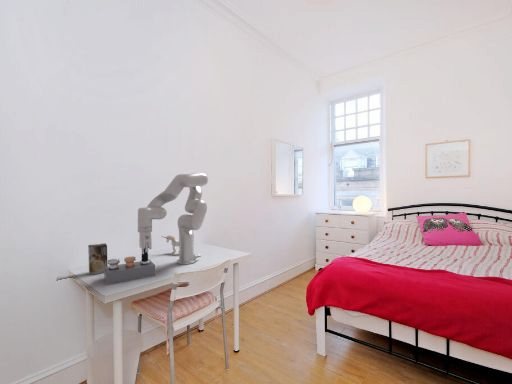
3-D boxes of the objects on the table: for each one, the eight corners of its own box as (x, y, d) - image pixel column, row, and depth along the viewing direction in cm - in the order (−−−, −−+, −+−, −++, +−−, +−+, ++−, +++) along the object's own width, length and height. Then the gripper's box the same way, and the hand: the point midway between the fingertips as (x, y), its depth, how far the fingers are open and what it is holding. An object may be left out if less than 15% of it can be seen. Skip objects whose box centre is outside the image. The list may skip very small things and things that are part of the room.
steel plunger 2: (149, 268, 154) (149, 258, 154) (151, 271, 149) (151, 261, 149) (139, 270, 151) (139, 260, 150) (141, 273, 146) (141, 262, 146)
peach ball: (134, 266, 149) (134, 256, 149) (136, 269, 145) (136, 258, 144) (123, 268, 146) (123, 257, 146) (125, 270, 141) (125, 259, 141)
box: (150, 269, 157) (150, 259, 157) (155, 275, 147) (155, 265, 147) (104, 277, 143) (104, 266, 143) (106, 284, 134) (106, 273, 133)
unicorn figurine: (165, 251, 199) (165, 234, 199) (190, 252, 198) (190, 234, 198) (161, 254, 192) (161, 236, 192) (187, 254, 191) (187, 236, 191)
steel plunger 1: (118, 268, 145) (118, 258, 144) (120, 271, 140) (120, 260, 140) (107, 270, 141) (107, 259, 141) (108, 273, 137) (108, 262, 137)
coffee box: (106, 269, 158) (106, 242, 157) (107, 272, 152) (107, 244, 152) (88, 272, 152) (88, 244, 152) (89, 275, 147) (88, 247, 147)
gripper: (155, 230, 145) (155, 263, 146) (148, 226, 157) (148, 257, 158) (140, 231, 141) (140, 265, 141) (135, 227, 153) (135, 258, 153)
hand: (144, 260), depth 150 cm, fingers closed
